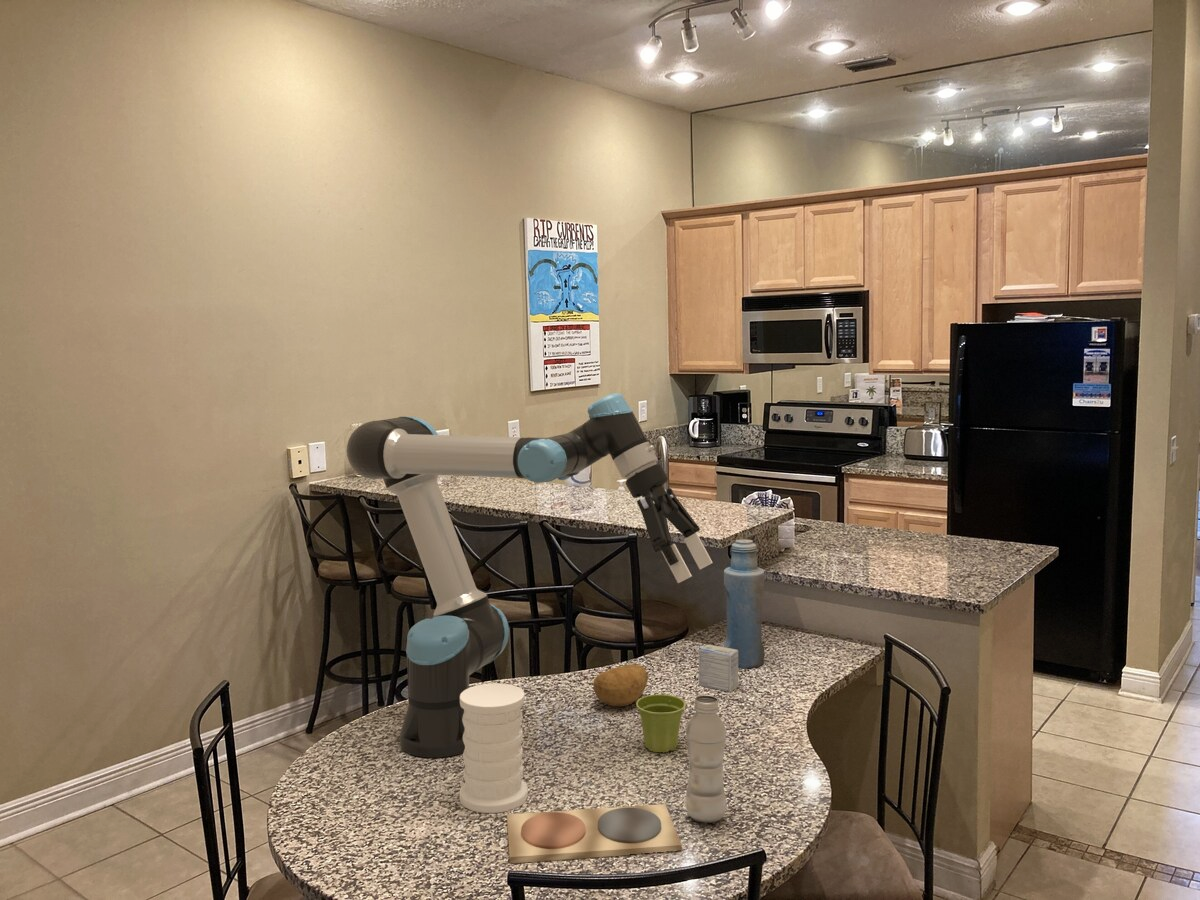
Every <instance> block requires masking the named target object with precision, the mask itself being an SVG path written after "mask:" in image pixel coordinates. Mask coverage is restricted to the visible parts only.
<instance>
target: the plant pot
mask: <svg viewBox="0 0 1200 900" xmlns="http://www.w3.org/2000/svg"><path fill="white" fill-rule="evenodd" d="M635 704H636V705H635V706H636V708H637V710H638V714H639V715H640V721H641V726H642V727H641V728H642V735H643V743H644V747H645V749H648V750H649V751H650V752H652V751H653V752H652V753H657V752H663V753H662V754H665V753H664V752H666V753H668V752H669V751H674V750H676V749H677V747H678V741H679V733H680V726H681V720H682V716H683V714H684V710H685V709H686V704H687V703H686V701H685V700H684V699H682V698H681V697H679V696H676V695H670V694H661V693H659V694H650V695H644V696H642V697H639V698H638V699H637V700H636V701H635Z"/></svg>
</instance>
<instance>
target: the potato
mask: <svg viewBox="0 0 1200 900" xmlns="http://www.w3.org/2000/svg"><path fill="white" fill-rule="evenodd" d="M648 680H649V675H648V671H647V669H646V668H645V667H644V666H643V665H638V664H634V663H632V664H626V665H621V666H616V667H613V668H610V669H608V670H605V671H602V672H601V673H599V674H597V675H596V677H595V678H594V679H593V684H592V686H593V690H594V693H595V696H596V698H597V699H598V700H599V701H600V702H602V703H604V704H606V705H610V706H613V707H626V706H628V705H631V704H633V703H634V702H636V701H637V700H638V699H640V698H641V696H642V694H644V691H645V689H646V687H647V684H648Z"/></svg>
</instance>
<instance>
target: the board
mask: <svg viewBox="0 0 1200 900" xmlns="http://www.w3.org/2000/svg"><path fill="white" fill-rule="evenodd" d="M506 822H507V823H506V824H507V836H508V837H507V840H508V854H509V855H508V856H509V864H520V863H521V864H522V863H535V862H550V861H551V862H552V861H563V860H565V861H566V860H577V859H580V860H581V859H591V858H592V859H593V858H594V859H595V858H607V857H619V856H631V855H630V854H636V855H642V854H641V853H650V854H654V853H653V852H656V853H655V854H658V853H657V852H664V853H667V852H666V851H674V850H676V851H677V850H682V851H683V844H682V841H681V840H680V837H679V835H678V832H677V829H676V828H675V825H674V823H673V820H672V817H671V814H670V812H669V811H668V808H667V806H666V803H662V804H661V803H660V804H659V803H658V804H647V805H633V806H632V805H629V806H615V807H600V808H585V809H572V810H571V809H570V810H555V811H554V810H553V811H552V810H551V811H540V812H524V813H523V812H522V813H510V814H509V813H507V814H506Z"/></svg>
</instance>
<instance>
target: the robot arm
mask: <svg viewBox="0 0 1200 900" xmlns="http://www.w3.org/2000/svg"><path fill="white" fill-rule="evenodd" d="M587 414H588V418H589V419H588V420H587V421H585V422H584V423H582V424H581V425H579V426H577V427H576V428H574V429H573V430H571V431H569V432H567V433H563V434H559V435H554V436H549V437H522V436H521V437H520V436H519V437H518V436H517V437H516V436H485V435H479V436H478V435H449V434H446V435H445V434H438V432H437V431H436V429H435V427H433V426H432V424H430V423H429V422H428V421H426V420H424V419H422V418H420V417H416V416H414V417H413V416H399V417H394V418H388V419H381V420H372V421H368V422H365V423H363V424H361V425H358V427H357V428H356V429H355V430H354V431H353V432H352V433H351V434H350V437H349V438H348V442H347V444H346V457H347V460H348V463H349V465H350V466H351V468H352V469H353V470H354V471H355V472H356V473H357V474H358V475H360V476H361V477H364V478H366V479H369V480H382V479H383V482H384V485H385V488H386V490H387V491H388V492H390V493H392V494H394V495H396V496H397V498H398V502H399V504H400V507H401V510H402V512H403V515H404V517H405V521H406V523H407V526H408V528H409V531H410V534H411V537H412V539H413V542H414V545H415V548H416V549H417V553H418V556H419V559H420V561H421V564H422V566H423V568H424V572H425V575H426V578H427V579H428V582H429V585H430V588H431V591H432V594H433V596H434V599H435V602H436V607H435V609H434V612H433V614H432V615H433V617H432V618H429V617H427V618H424V619H422V620H420V621H418V622H417V623H415V624H414V625H413V626H411V628H410V629H409V630H408V633H407V640H406V641H407V642H406V648H405V652H406V659H407V660H406V663H407V665H406V666H407V668H406V669H407V693H408V697H407V699H408V705H407V709H406V712H405V715H404V719H403V722H402V726H401V729H400V733H399V742H400V743H399V744H400V748H401V749H402V750H403V751H404V752H405V753H407V754H409V755H412V756H415V757H421V758H431V759H432V758H433V759H435V758H447V757H451V756H456V755H460V754H463V753H464V749H465V745H464V742H463V733H464V731H465V727H464V725H463V721H462V717H463V714H464V709H463V708H462V707H461V706H460V694H461V693H462V692H463V691H464V690H466V689H468V688H470V676H471V675H472V674H474V673H475V672H478V670H480V669H481V668H483V667H484V666H486V665H489V664H491V663H492V662H494V661H495V660H496V659H497V658H498V657H499V656H500V655H501V654H502V652H503V651H504V650H505V648H506V646H507V644H508V642H509V637H510V626H509V622H508V619H507V617H506V616H505V614H504V613H503V611H502V610H501V609H500V608H497V607H496V606H495V605H494V604H492V603H491V602H490V600H489V597H488V594H487V593H486V592H484V591H482V590H480V589H478V588H477V586H476V583H475V581H474V578H473V576H472V573H471V570H470V567H469V564H468V562H467V558H466V556H465V554H464V551H463V548H462V546H461V543H460V540H459V537H458V534H457V532H456V529H455V527H454V524H453V521H452V519H451V516H450V513H449V511H448V507H447V504H446V502H445V499H444V497H443V494H442V491H441V489H440V486H439V483H438V479H439V476H453V477H454V476H456V477H457V476H458V477H461V476H462V477H484V478H505V479H506V478H509V479H510V478H511V479H525V480H528V481H529V482H532V483H548V482H549V483H550V482H552V481H555V480H556V479H558V480H559V481H565V480H568V479H569V478H572V477H574V476H577V475H578V474H580V473H581V472H582V471H583V470H585V469H586V468H588V467H590V466H592V465H593V464H594V463H596V462H598V461H600V460H601V459H603V458H605V457H607V456H609V455H610V457H611V459H612V461H613V463H614V465H615V467H616V469H617V471H618V473H619V475H620V476H621V479H626V480H625V485H626V487H627V489H628V491H629V493H630V494H631V496H632V498H634V499H638V498H640V497H642V498H640V499H638V500H636V504H637V505H638V508H639V510H640V511H641V515H642V518H643V521H644V524H645V528H646V531H647V533H648V537H649V539H650V543H651V547H652V548H653V551H654V552H655V553H659V552H661V554H662V556H663V558H664V560H665V562H666V563H667V566H668V567H669V569H670V571H671V573H672V575H673V576H674V578H675V581H676V583H677V584H680V583H681V582H683V581H686V580H688V579H689V578H691V577H693V575H692V574H691V572H690V570H689V568H688V566H687V564H686V563H685V560H684V559H683V556H682V554H681V553H680V551H679V549H678V548H677V545H676V544H675V543H673V541H672V538H671V534H670V528H669V525H668V521H669V522H670V524H672V526H674V527H675V529H677V531H678V532H679V533H680V534H681V535H682V536H683V537H684V539H683V542H684V543H685V545H686V546H687V549H688V550H689V552H690V554H691V556H692V558H693V560H694V562H695V564H696V566H697V567H698V569H699V570H702V569H704V568H706V567H708V566H710V565H711V564H713V561H712V559H711V557H710V555H709V553H708V551H707V549H706V547H705V546H704V543H703V542H702V540H701V538H700V536H699V535H698V533H697V532H700V530H701V528H700V526H699V525H698V524H697V523H696V522H695V520H694V519H693V517H692V516H691V515H690V513H689V512H688V511H687V510H686V508H685V507H684V505H683V504H682V503H681V501H679V499H678V498H677V496H676V495H675V492H674V491H673V489H672V488H671V487H669V488H666V489H665V488H664V487H663V486H664V485H665V484H666V483H667V482H668V481H669V477H668V475H667V473H666V471H665V470H664V468H663V466H662V464H660V463H657V462H658V457H657V455H656V453H655V451H654V450H655V446H654V445H652V444H650V442H649V440H648V438H647V437H646V434H645V433H644V431H643V429H642V427H641V425H640V423H639V422H638V419H637V417H636V415H635V412H634V410H633V409H632V408H631V407H630V404H628V402H627V401H626V399H625V397H624V396H623V395H622V393H619V392H616V393H614V392H613V393H610V394H608V395H605V396H603V397H601V398H599V399H598V400H595V402H593V403H592V404H590V405H589V406H588V408H587Z"/></svg>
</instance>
